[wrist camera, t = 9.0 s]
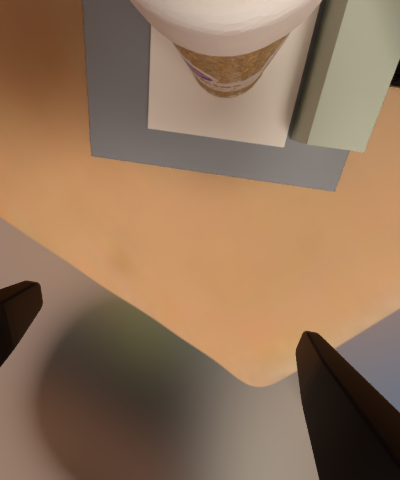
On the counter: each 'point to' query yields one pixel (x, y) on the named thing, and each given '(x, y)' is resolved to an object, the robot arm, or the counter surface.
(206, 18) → the sprinkles bottle
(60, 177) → the counter surface
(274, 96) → the board
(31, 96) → the counter surface
